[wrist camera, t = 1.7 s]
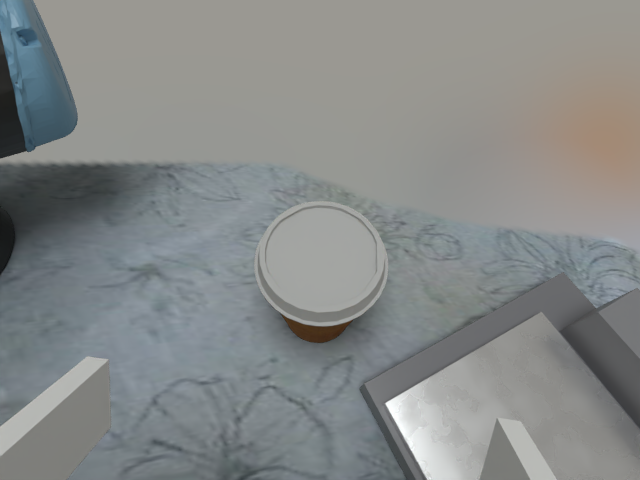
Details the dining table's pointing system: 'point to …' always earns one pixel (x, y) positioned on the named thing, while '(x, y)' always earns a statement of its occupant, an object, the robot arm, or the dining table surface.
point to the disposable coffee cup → (321, 268)
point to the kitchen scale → (549, 298)
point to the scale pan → (517, 410)
